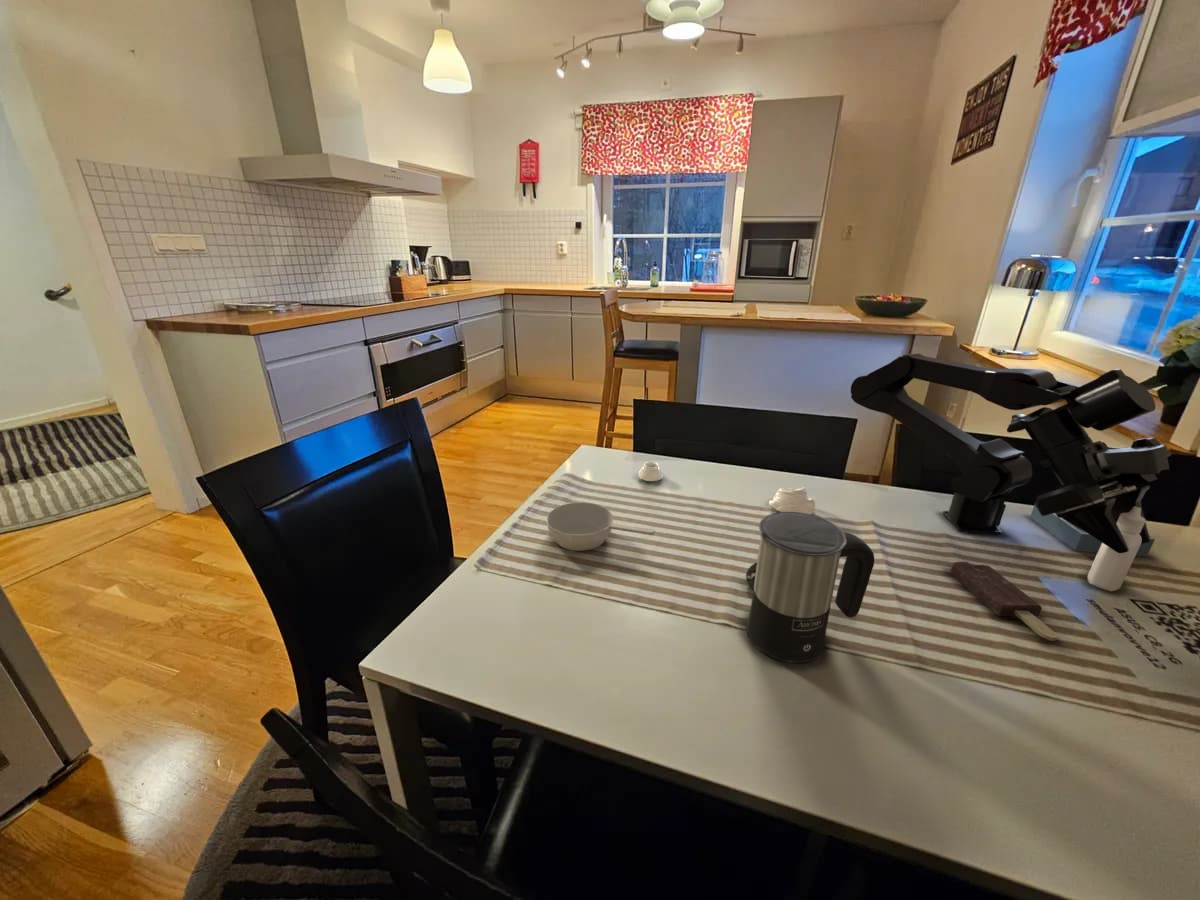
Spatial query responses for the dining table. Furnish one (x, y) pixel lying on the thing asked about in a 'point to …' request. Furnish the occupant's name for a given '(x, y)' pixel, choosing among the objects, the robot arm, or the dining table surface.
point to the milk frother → (802, 583)
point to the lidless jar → (650, 472)
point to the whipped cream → (793, 501)
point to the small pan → (584, 526)
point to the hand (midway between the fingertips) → (1134, 547)
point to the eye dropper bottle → (1114, 565)
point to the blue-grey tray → (1076, 533)
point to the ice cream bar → (1001, 595)
